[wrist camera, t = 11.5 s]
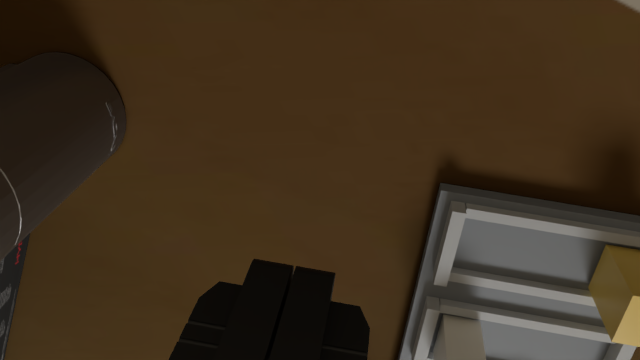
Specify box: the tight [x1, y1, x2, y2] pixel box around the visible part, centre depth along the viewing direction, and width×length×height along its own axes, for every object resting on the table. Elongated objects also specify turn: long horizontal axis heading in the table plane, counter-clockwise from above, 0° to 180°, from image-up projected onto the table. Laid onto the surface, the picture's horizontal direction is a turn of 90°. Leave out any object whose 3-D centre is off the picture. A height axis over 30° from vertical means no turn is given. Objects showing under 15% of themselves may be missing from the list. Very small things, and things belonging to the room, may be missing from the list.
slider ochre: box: [588, 244, 640, 347], centre depth 42 cm, size 3×4×6 cm
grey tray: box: [398, 183, 640, 360], centre depth 48 cm, size 18×24×4 cm
